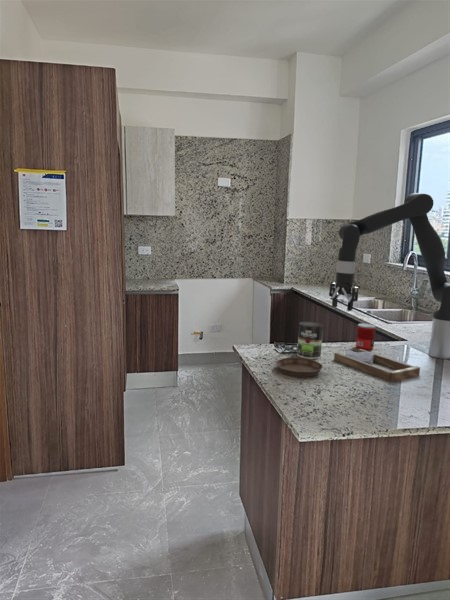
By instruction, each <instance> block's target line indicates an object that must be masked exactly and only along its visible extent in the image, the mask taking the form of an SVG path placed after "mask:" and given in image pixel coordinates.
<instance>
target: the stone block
mask: <svg viewBox="0 0 450 600" xmlns="http://www.w3.org/2000/svg"><path fill="white" fill-rule="evenodd" d="M370 352H371V351H369V352H360V353H358V351H353V350H352V349H351V350H347V351H346V352H345V354H344V355H345V356H348V357H351V358H354V359H357V360H359V361H362V362H365V363H368V364H371V365H373V366H374V354H372V353H373V352H372V353H370Z"/></svg>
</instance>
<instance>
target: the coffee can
mask: <svg viewBox="0 0 450 600" xmlns="http://www.w3.org/2000/svg"><path fill="white" fill-rule="evenodd" d="M298 325H299V327H298V335H297V336H298V337H297V351H296V355H297V356H298V358H304V359H310V360H318V359H321V354H322V345H323V344H322V343H323V331H324V326H325V325H324V324H323V323H321V322H317V321H316V322H315V321H300V322H299V323H298Z"/></svg>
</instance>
